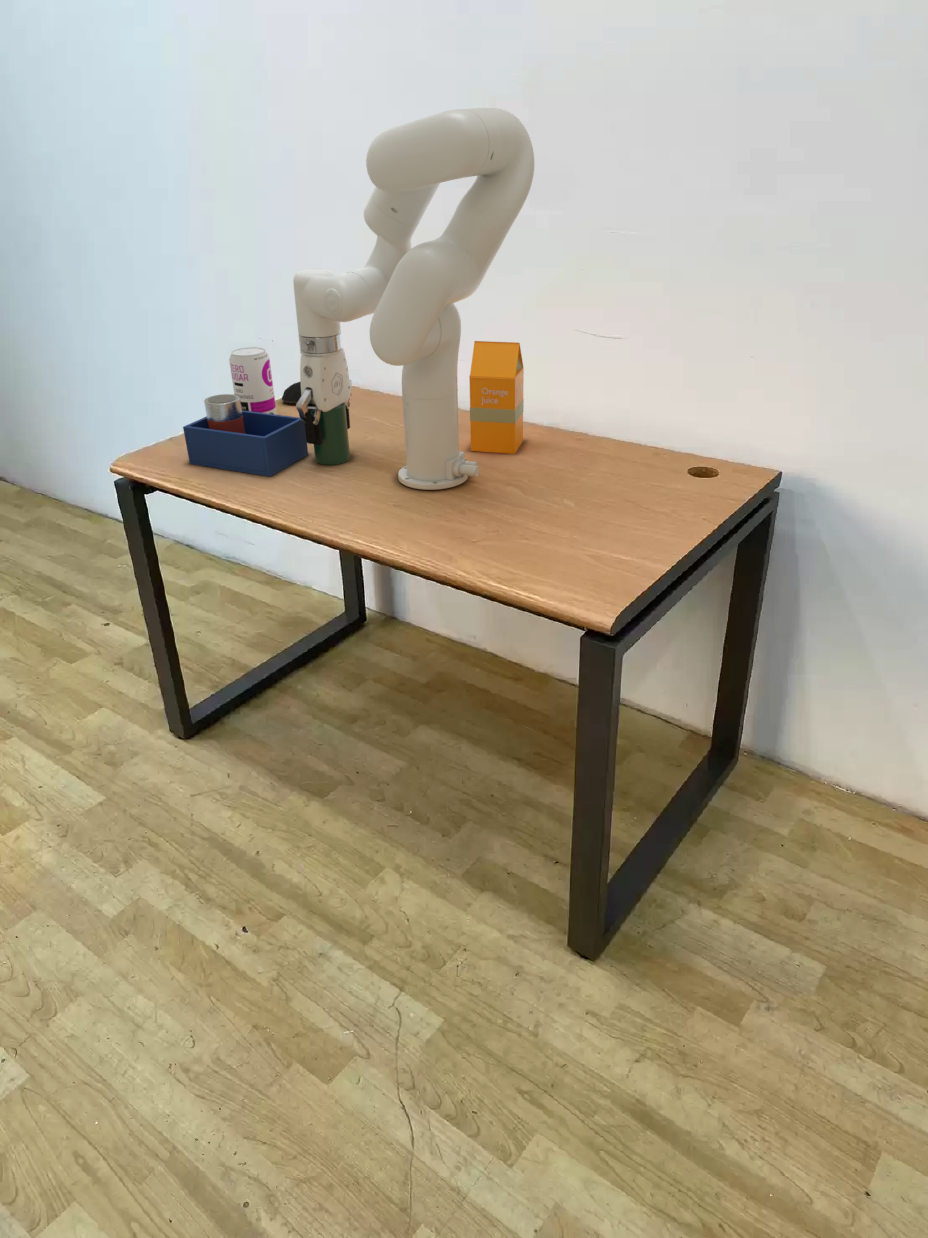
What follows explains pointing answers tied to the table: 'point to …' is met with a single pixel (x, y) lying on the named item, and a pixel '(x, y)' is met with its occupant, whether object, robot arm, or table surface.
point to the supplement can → (253, 379)
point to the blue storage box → (248, 444)
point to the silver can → (225, 413)
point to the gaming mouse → (292, 393)
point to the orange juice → (496, 397)
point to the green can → (333, 437)
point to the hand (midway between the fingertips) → (328, 435)
